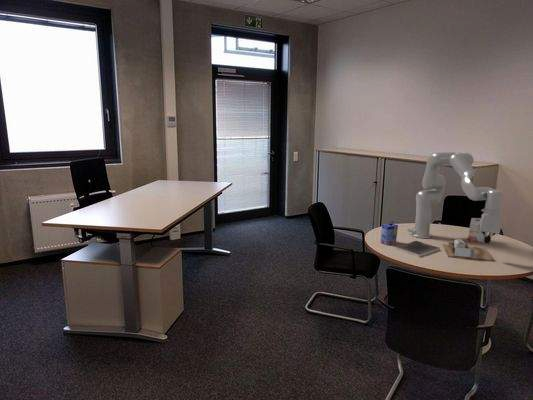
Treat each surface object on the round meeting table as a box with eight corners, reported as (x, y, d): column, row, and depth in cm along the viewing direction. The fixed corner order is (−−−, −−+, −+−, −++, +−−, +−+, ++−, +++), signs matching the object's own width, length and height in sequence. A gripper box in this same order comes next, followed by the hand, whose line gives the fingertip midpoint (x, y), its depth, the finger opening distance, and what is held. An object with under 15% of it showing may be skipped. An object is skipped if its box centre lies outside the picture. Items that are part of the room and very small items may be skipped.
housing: (448, 256, 228) (448, 249, 227) (442, 245, 248) (443, 238, 247) (494, 261, 221) (495, 253, 220) (484, 249, 242) (485, 242, 241)
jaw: (456, 251, 235) (457, 242, 234) (453, 247, 241) (454, 238, 240) (464, 252, 234) (465, 242, 233) (461, 248, 240) (462, 239, 239)
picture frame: (415, 244, 253) (395, 250, 240) (416, 240, 252) (395, 246, 240) (439, 251, 239) (418, 258, 227) (440, 247, 239) (419, 254, 227)
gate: (454, 256, 226) (455, 248, 225) (454, 255, 228) (455, 247, 227) (473, 258, 224) (474, 249, 223) (472, 257, 225) (473, 248, 224)
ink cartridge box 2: (471, 241, 257) (473, 219, 254) (468, 239, 262) (470, 217, 259) (484, 241, 256) (487, 220, 253) (481, 239, 261) (484, 218, 258)
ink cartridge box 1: (386, 245, 248) (388, 223, 245) (379, 242, 252) (381, 221, 249) (396, 242, 253) (398, 221, 250) (390, 240, 257) (391, 219, 254)
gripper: (478, 212, 216) (473, 243, 220) (509, 215, 212) (503, 246, 216) (475, 208, 223) (470, 239, 227) (505, 211, 219) (499, 242, 223)
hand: (486, 242), depth 222 cm, fingers closed
